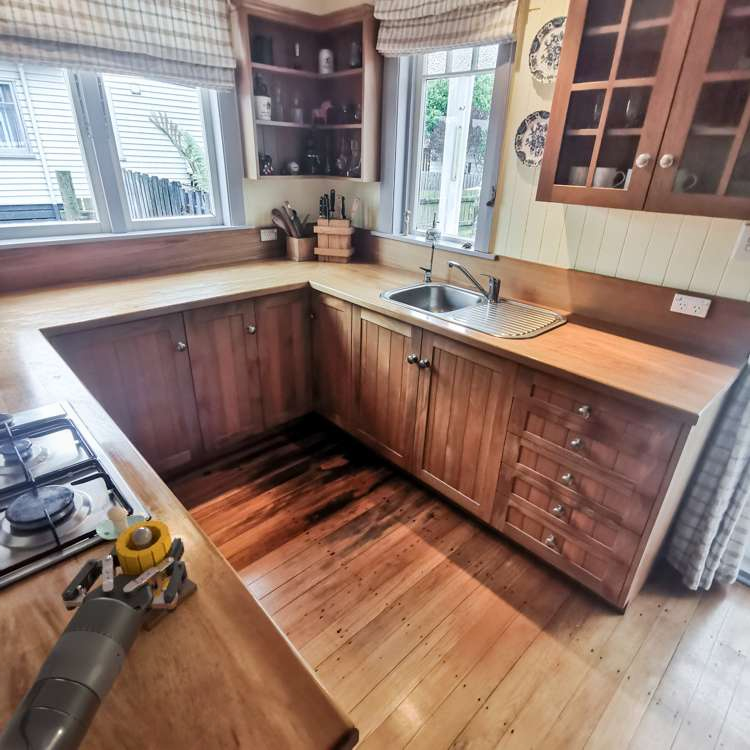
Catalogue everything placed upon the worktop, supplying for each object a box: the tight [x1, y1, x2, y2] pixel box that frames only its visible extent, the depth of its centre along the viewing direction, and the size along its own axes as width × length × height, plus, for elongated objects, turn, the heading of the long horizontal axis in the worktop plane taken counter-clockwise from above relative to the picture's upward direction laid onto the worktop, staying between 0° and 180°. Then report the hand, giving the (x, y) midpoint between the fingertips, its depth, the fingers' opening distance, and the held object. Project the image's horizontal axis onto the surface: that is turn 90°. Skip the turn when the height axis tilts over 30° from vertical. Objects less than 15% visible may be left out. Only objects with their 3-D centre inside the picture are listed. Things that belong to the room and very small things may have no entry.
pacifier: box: [95, 506, 146, 541], centre depth 78 cm, size 7×6×6 cm
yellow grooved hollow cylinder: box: [115, 519, 173, 597], centre depth 65 cm, size 7×7×9 cm
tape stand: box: [132, 527, 199, 632], centre depth 65 cm, size 8×8×13 cm
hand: (153, 541), depth 66 cm, fingers closed on yellow grooved hollow cylinder, 6 cm apart
